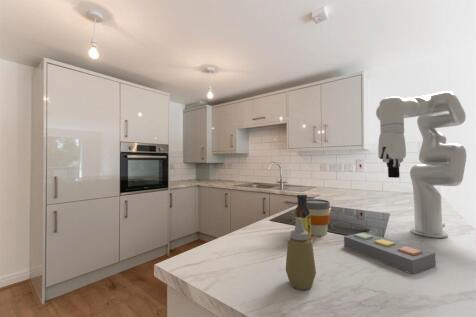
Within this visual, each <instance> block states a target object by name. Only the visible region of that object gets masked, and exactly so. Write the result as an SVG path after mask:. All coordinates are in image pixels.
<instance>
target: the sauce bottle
mask: <svg viewBox="0 0 476 317" xmlns="http://www.w3.org/2000/svg"><path fill="white" fill-rule="evenodd" d="M296 198H297V206H296V207H295V210H294V212H295V216H294V222H295V224H296V221H297V218H301V220H302V224H303V228H304V230H305V231H307V232H308V239H309V240H311V241H312V235H311V219H310V211H309V209H308V206H307V199H308V194H306V193H298V194H296Z"/></svg>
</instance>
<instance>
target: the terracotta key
mask: <svg viewBox="0 0 476 317" xmlns="http://www.w3.org/2000/svg"><path fill="white" fill-rule="evenodd" d="M398 251H400V252H403V253H406V254H409V255H412V256H416V255H420V254H422V251H420V250H417V249H414V248H410V247H407V246H405V247H402V248H398Z"/></svg>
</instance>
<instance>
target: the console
mask: <svg viewBox="0 0 476 317" xmlns="http://www.w3.org/2000/svg"><path fill="white" fill-rule="evenodd" d="M360 233H361V232H358V233H357V234H360ZM362 233H364V234H368V235H371V236H373V238H372V239H368V240H363V239H360V238H357V237H355V234H356V233H355V234H354V233H353V234H349V235H344V236H343V247H344V248H347V249H349V250H351V251H354V252H356V253H359V254H361V255H364V256H367V257H370V258H372V259H374V260H376V261H379V262H382V263H384V264H387V265H389V266H392V267H393V268H397V269H399V270H402V271H404V272H407V273H409V274H412V275H414V274H415V275H416V274H418V273H420V272H423V271H426V270H429V269H431V268H434V267H436V265H437V264H436V252H432V251H429V250H426V249H423V248H419V247H416V246H412V245H410V244H406V243H402V242H399V241H395V240H393V239H389V238H386V237H383V236H379V235H375V234H373V233H370V232H365V231H364V232H362ZM380 239H384V240H387V241H391V242H394V243H395V245H394V246H391V247H384V246H381V245H378V244H375V243H374V241H376V240H380ZM405 246H407V247H410V248H414V249H417V250H420V251H422V254H420V255H416V256H412V255H409V254H406V253H403V252H400V251H398V248H402V247H405Z"/></svg>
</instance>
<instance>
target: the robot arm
mask: <svg viewBox="0 0 476 317" xmlns="http://www.w3.org/2000/svg"><path fill="white" fill-rule="evenodd" d="M375 115H376V117H377V119H378V120H379V125H380V126H379V127H380V129H379V130H380V131H379V132H380V134H379V137H378V146H377V147H378V148H377V149H378V153H377V154H378V155H377V156H378V158H379V159H380V160H382V163H386V167H387V174H388V175H387V178H395V179H396V178H397V179H398V178H400V176H401V175H400V167H401V163H403V162H404V159H405V158H406V156H407V150H406V149H407V148H406V138H405V134H404V133H405V119H408V118H410V119H411V118H414V117H415V118H416V117H417V120H416V121H417V122H416V124H417V126H418V129H419V132H420V135H421V136H422V142H421V147H420V150H419V155H418V160H419V162H420V164H415V165H413V166H412V167H411V168H410V169H409V174H410V179H411V183H412V184H411V185H412V190H413V214H414V215H413V216H414V227H411V228H410V231H411V233H413V234H415V235H417V236H422V237H427V238H433V239H434V238H435V239H444V238H448V233H447V232H445V231H444V230H443V229H444V228H445V227H446V224H445V223H443V208H442V196H441V193H440V192H439V190H438V189H437V188H436V187H435V186H440V187H456V186H457V187H458V186H460V185H461V184H462V182H463V180H464V174H465V170H466V169H465V168H466V162H467V150H466V148H465V147H464V146H463V145H462V144H460V143H447V137H446V136H445V135H444V134H443V133H442V132H440V131H438V130H437V129H440V128H449V127H457V126H461V125H463V123H465V121H466V117H467V116H466V112H465V110H464V108H463V106H462V104H461V102H460V100H459V98H458V96H457V94H455V93H454V92H452V91H449V90H447V91H446V90H445V91H441V92H437V93H436V92H435V93H432V94H427V95H422V96H421V95H420V96H414V97H407V98H405V97H404V98H403V97H400V96H390V97H385V98H383V99H381V100H380V101H379V105H378V106H377V108H376V111H375Z"/></svg>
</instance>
